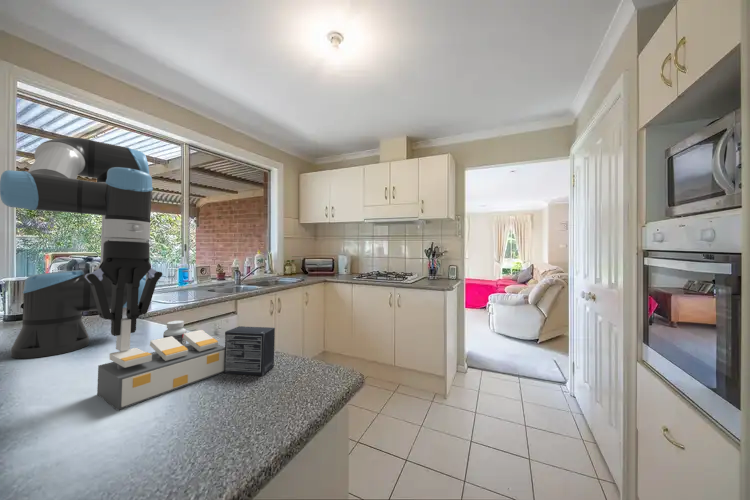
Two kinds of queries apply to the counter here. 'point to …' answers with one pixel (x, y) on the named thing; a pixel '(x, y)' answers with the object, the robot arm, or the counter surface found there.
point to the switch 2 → (168, 348)
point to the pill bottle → (176, 331)
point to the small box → (249, 350)
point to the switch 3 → (200, 340)
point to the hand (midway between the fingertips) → (122, 349)
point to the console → (157, 376)
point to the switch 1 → (130, 357)
